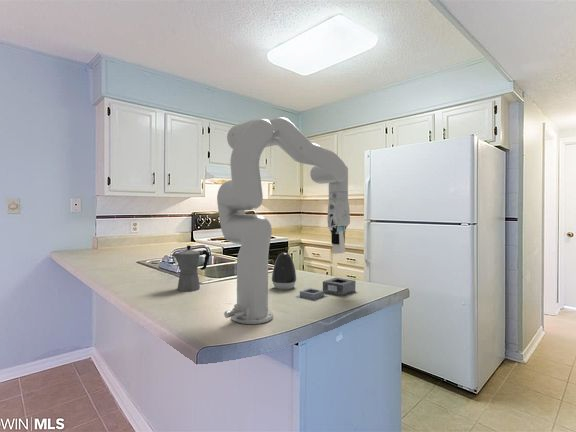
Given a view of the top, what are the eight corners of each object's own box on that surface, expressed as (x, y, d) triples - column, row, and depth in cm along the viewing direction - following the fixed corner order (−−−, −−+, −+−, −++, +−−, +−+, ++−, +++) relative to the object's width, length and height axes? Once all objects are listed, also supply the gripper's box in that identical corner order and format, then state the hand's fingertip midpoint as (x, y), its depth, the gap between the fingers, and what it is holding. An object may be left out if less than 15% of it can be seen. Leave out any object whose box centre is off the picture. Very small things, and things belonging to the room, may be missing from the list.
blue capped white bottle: (341, 253, 129) (338, 227, 129) (332, 253, 131) (330, 228, 131) (345, 252, 131) (343, 226, 132) (337, 252, 134) (335, 227, 134)
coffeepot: (174, 293, 130) (174, 247, 129) (169, 288, 138) (169, 245, 137) (213, 288, 138) (213, 245, 137) (206, 284, 146) (206, 243, 145)
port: (342, 297, 125) (342, 285, 125) (322, 293, 131) (322, 281, 131) (355, 292, 133) (355, 280, 133) (335, 288, 139) (336, 277, 139)
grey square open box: (314, 302, 118) (314, 295, 118) (295, 298, 124) (295, 291, 124) (328, 297, 125) (328, 290, 125) (309, 293, 131) (309, 287, 131)
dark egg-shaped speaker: (298, 286, 142) (299, 251, 142) (292, 292, 132) (293, 254, 132) (276, 285, 145) (276, 250, 145) (268, 290, 135) (268, 253, 135)
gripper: (335, 196, 122) (335, 246, 123) (356, 197, 135) (356, 242, 135) (318, 196, 127) (318, 245, 127) (340, 197, 139) (340, 241, 140)
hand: (338, 243), depth 131 cm, fingers closed on blue capped white bottle, 3 cm apart
